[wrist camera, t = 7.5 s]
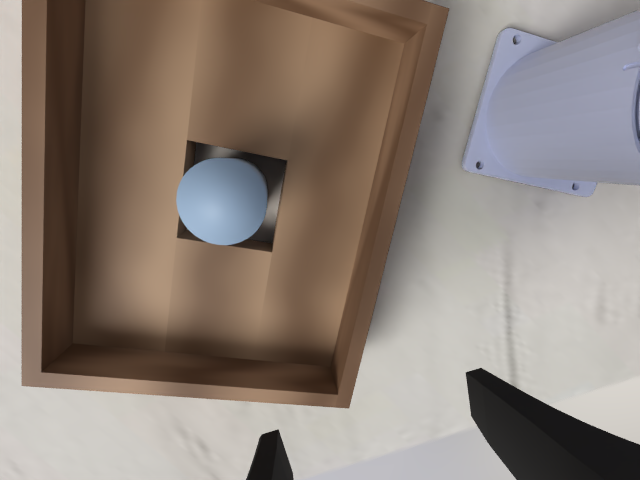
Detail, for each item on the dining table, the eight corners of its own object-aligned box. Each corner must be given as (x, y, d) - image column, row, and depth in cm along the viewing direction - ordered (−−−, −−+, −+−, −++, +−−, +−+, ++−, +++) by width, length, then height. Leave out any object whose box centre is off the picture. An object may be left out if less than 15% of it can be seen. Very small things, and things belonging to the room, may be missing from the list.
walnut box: (407, 43, 18) (449, 8, 14) (334, 360, 22) (349, 408, 18) (92, -46, 15) (21, -126, 11) (77, 335, 20) (21, 385, 15)
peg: (273, 166, 19) (275, 170, 13) (260, 224, 20) (257, 252, 14) (211, 150, 18) (184, 147, 12) (200, 211, 19) (169, 235, 13)
